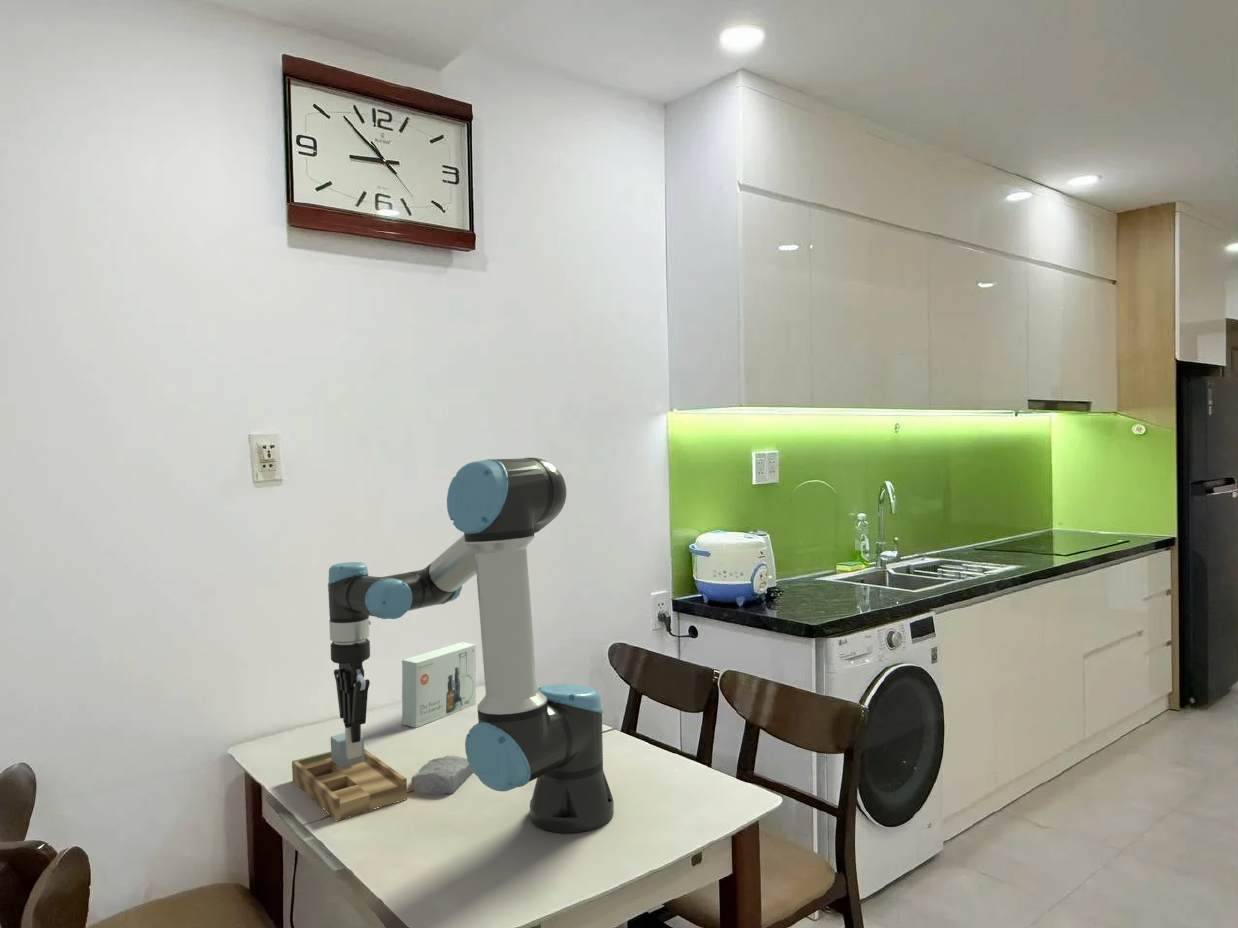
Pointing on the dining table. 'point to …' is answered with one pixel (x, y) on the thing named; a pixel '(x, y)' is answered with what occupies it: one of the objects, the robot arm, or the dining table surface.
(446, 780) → the stone block
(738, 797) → the dining table surface
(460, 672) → the skincare box
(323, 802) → the trap box
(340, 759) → the block
